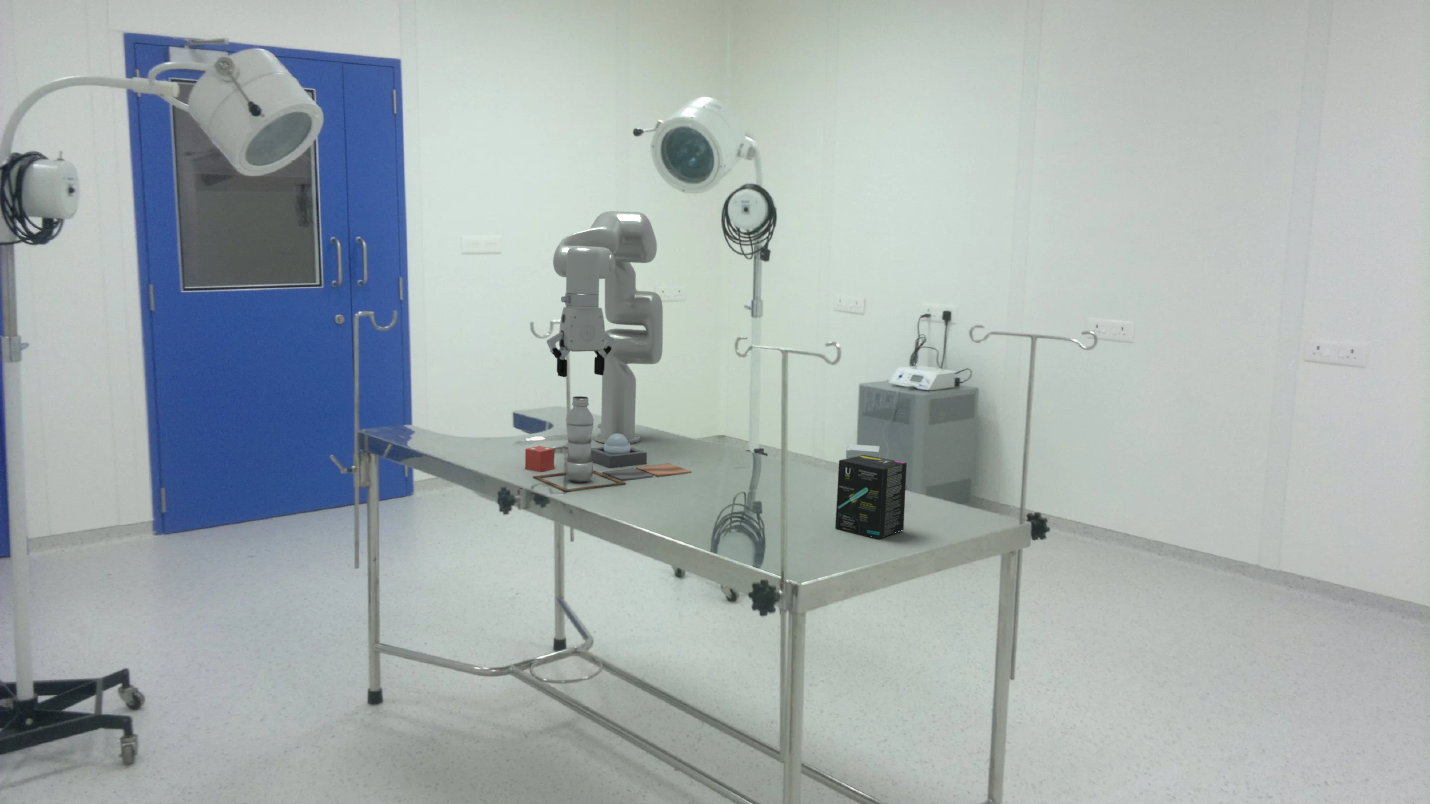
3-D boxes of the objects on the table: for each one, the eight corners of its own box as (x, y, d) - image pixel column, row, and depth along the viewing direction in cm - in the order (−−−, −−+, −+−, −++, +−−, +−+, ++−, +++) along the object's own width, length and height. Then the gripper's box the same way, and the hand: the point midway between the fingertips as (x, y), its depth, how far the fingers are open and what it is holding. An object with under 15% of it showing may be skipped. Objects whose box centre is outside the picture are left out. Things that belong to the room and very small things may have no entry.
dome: (598, 455, 274) (599, 432, 273) (621, 453, 278) (621, 430, 277) (612, 460, 268) (613, 437, 267) (635, 457, 272) (635, 434, 272)
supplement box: (875, 507, 237) (879, 451, 235) (842, 504, 238) (845, 449, 237) (877, 499, 244) (880, 445, 242) (844, 496, 246) (848, 443, 244)
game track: (532, 477, 253) (532, 476, 252) (662, 462, 275) (662, 461, 274) (565, 492, 240) (565, 490, 240) (698, 475, 262) (698, 473, 262)
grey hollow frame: (587, 459, 274) (587, 448, 274) (623, 455, 281) (624, 444, 280) (609, 468, 266) (609, 456, 265) (646, 463, 272) (646, 452, 272)
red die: (525, 468, 262) (525, 448, 261) (539, 465, 266) (539, 445, 265) (540, 471, 259) (540, 451, 258) (554, 468, 263) (554, 448, 262)
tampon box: (904, 531, 218) (908, 462, 216) (879, 540, 211) (883, 468, 209) (859, 521, 225) (863, 453, 223) (834, 528, 218) (838, 459, 216)
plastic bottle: (579, 485, 246) (581, 400, 243) (559, 480, 250) (560, 397, 247) (599, 481, 252) (600, 397, 248) (578, 476, 256) (579, 394, 252)
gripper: (556, 302, 236) (555, 379, 239) (623, 302, 247) (621, 375, 249) (540, 300, 242) (539, 375, 245) (606, 300, 252) (604, 372, 255)
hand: (580, 375), depth 247 cm, fingers open, 9 cm apart
